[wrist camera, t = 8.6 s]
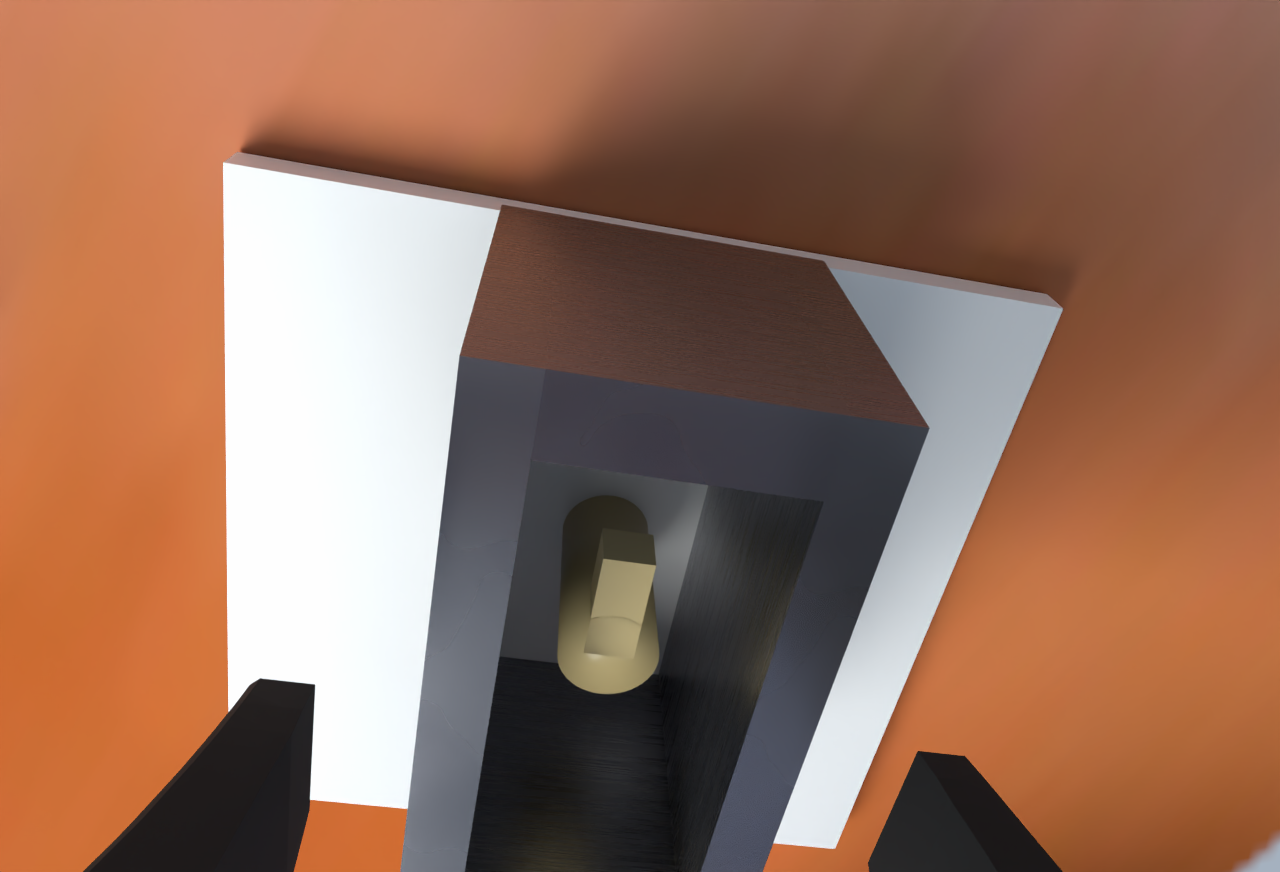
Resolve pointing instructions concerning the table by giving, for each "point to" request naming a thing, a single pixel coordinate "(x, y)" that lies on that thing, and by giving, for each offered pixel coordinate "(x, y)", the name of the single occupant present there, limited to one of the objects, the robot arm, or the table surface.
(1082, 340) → the table surface
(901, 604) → the keeper plate
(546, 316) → the grey open storage bin
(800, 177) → the table surface
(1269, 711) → the table surface
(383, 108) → the table surface
